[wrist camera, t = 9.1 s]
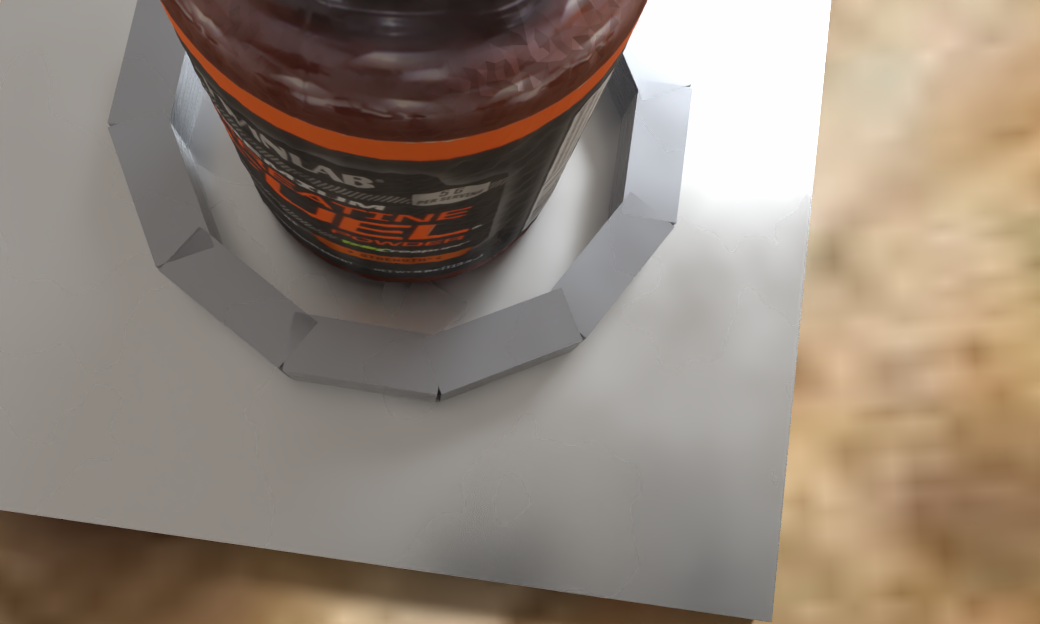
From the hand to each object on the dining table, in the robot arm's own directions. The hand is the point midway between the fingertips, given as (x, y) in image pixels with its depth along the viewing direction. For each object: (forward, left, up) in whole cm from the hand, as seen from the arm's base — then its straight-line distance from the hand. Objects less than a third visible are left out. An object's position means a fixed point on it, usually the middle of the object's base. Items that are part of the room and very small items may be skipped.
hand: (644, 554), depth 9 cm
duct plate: (+7, +3, -9) cm, 12 cm away
